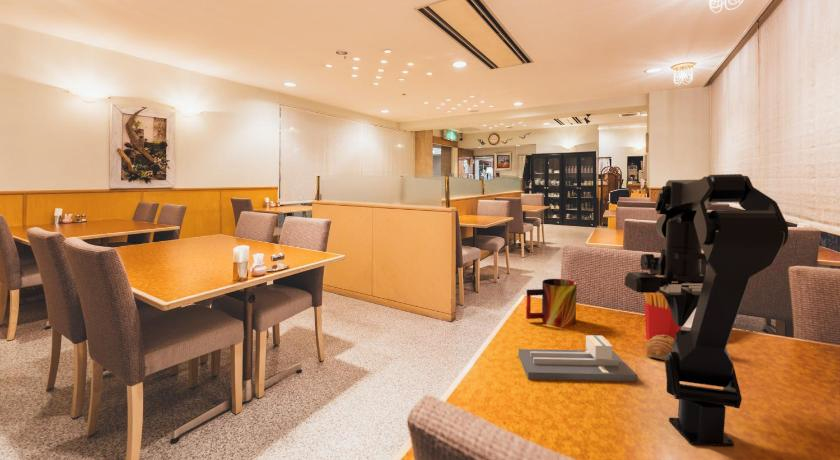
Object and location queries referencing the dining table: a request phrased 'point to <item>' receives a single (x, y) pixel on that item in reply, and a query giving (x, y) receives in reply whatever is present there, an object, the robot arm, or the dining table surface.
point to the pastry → (659, 346)
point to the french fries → (658, 316)
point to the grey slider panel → (573, 366)
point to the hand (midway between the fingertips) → (679, 325)
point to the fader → (599, 347)
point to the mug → (555, 302)
